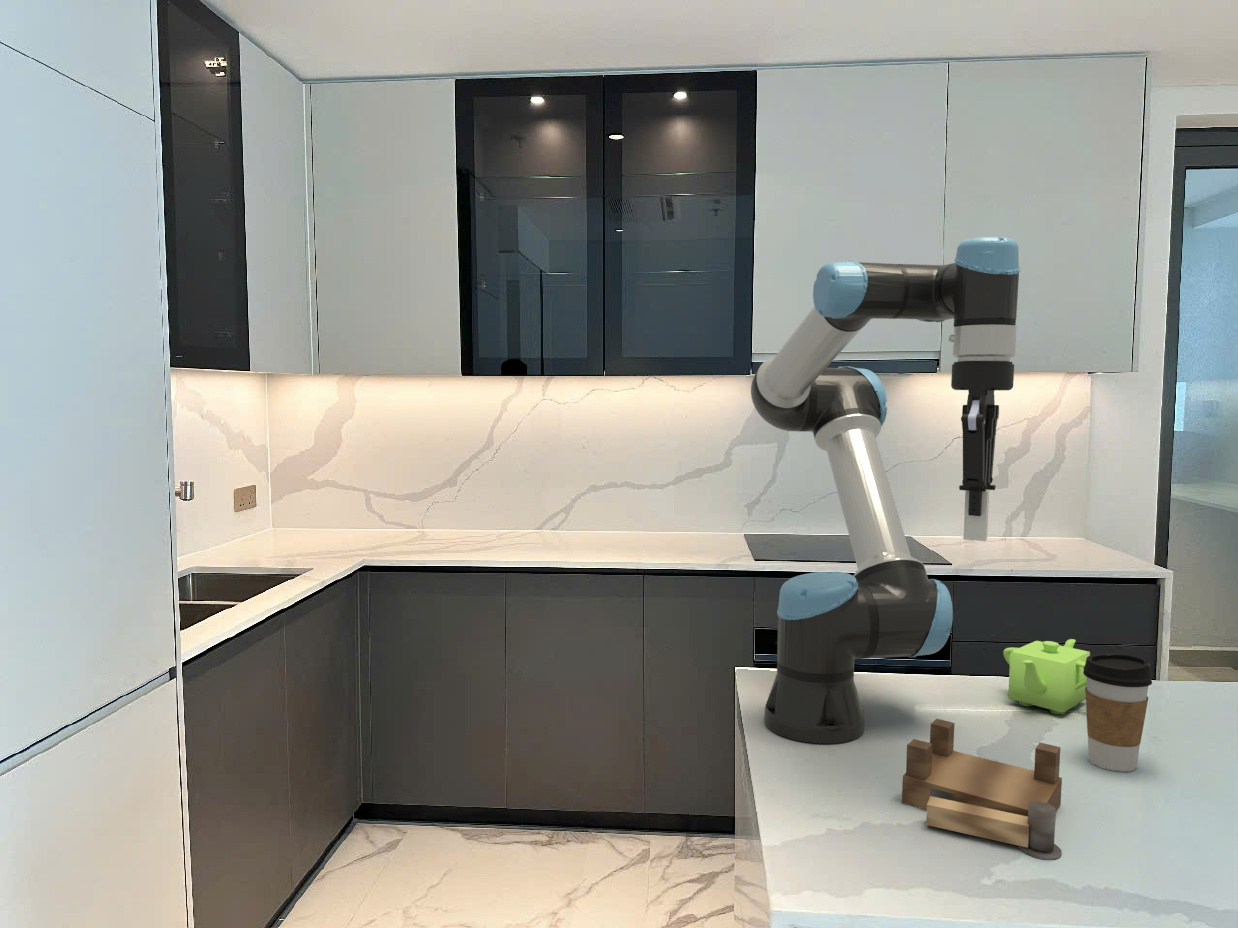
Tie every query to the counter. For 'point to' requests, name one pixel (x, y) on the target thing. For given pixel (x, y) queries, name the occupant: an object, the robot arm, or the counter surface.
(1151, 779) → the counter surface
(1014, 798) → the stool top
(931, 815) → the hinged leg
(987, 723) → the counter surface
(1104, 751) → the coffee cup
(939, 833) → the counter surface
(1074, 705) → the teapot
